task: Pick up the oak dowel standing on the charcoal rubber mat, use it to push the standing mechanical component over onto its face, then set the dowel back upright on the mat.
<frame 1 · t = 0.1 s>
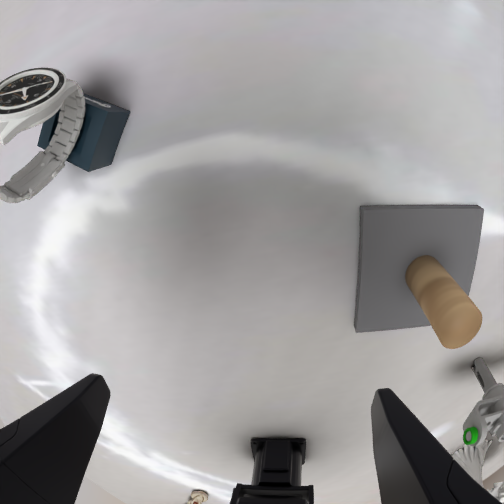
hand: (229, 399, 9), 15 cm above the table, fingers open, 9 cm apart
watch: (94, 125, 20), on the table
dowel: (422, 273, 21), point 1 cm above the table, touching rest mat
mechanical component: (476, 361, 25), on the table
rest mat: (418, 267, 22), on the table
tree: (467, 451, 33), on the table
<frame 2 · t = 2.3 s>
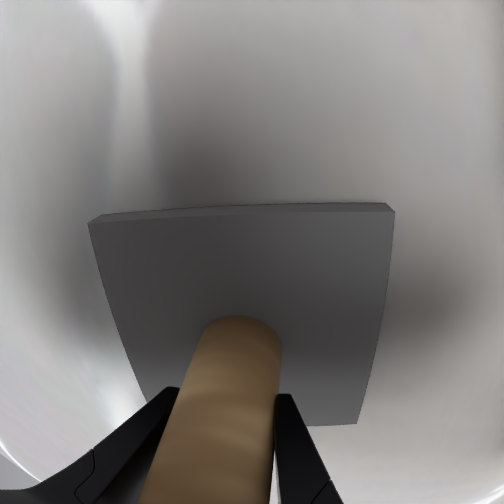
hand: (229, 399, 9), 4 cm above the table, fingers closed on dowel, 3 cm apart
dowel: (240, 348, 11), point 1 cm above the table, touching gripper, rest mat
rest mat: (244, 331, 12), on the table
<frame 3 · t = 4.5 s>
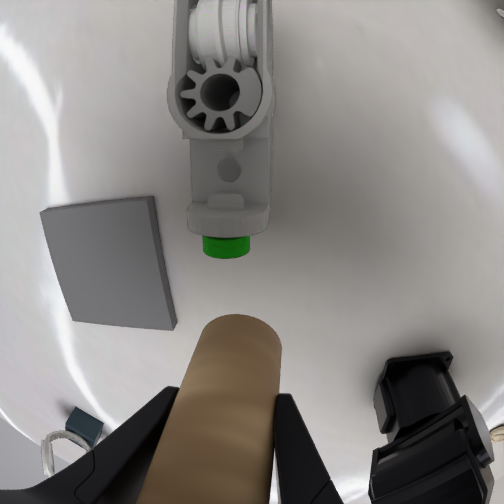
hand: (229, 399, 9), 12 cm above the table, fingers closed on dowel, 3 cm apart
watch: (88, 421, 33), on the table
dowel: (240, 347, 11), point 10 cm above the table, touching gripper
mechanical component: (254, 107, 17), on the table
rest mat: (107, 265, 22), on the table
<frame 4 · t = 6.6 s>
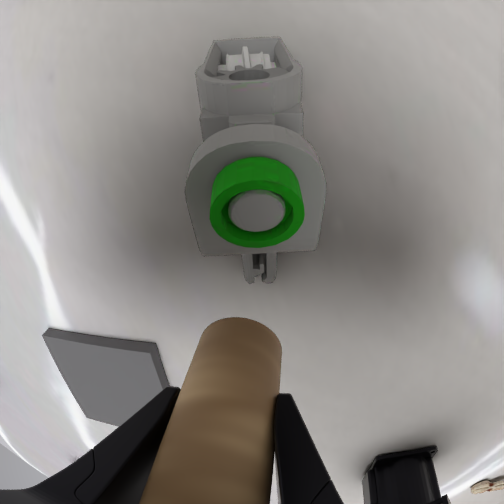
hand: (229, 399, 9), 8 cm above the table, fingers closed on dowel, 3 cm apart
dowel: (240, 350, 11), point 6 cm above the table, touching gripper
mechanical component: (260, 275, 16), point 1 cm above the table
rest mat: (115, 384, 22), on the table
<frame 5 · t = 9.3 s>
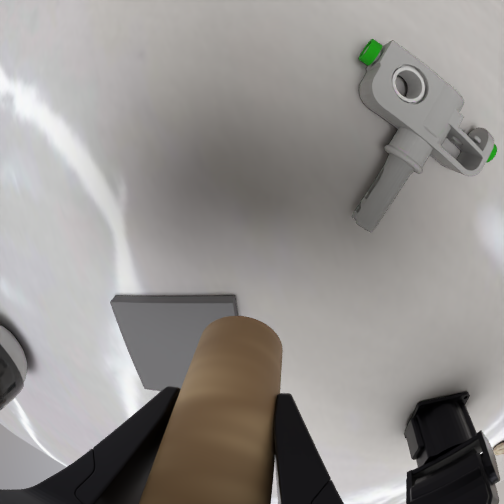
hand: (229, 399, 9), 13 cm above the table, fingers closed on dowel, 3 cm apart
dowel: (240, 349, 11), point 10 cm above the table, touching gripper
mechanical component: (359, 227, 18), point 1 cm above the table
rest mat: (183, 346, 25), on the table
pump dispenser: (11, 342, 30), on the table
when the fingers open (4 cm above the table, at t = 11.8 s): dowel drops 1 cm, resting on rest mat.
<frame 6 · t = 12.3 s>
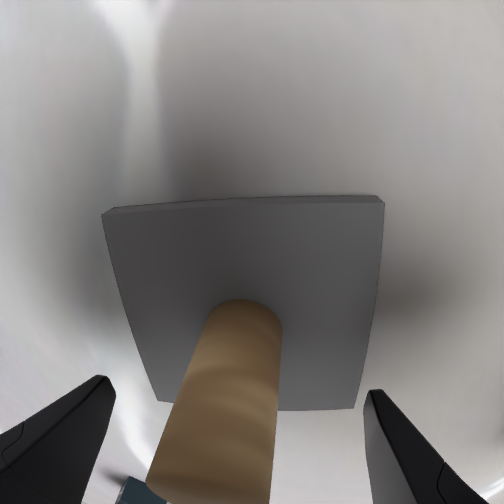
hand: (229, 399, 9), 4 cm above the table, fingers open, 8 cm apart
watch: (143, 488, 24), on the table
dowel: (243, 331, 12), point 1 cm above the table, touching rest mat
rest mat: (246, 317, 13), on the table
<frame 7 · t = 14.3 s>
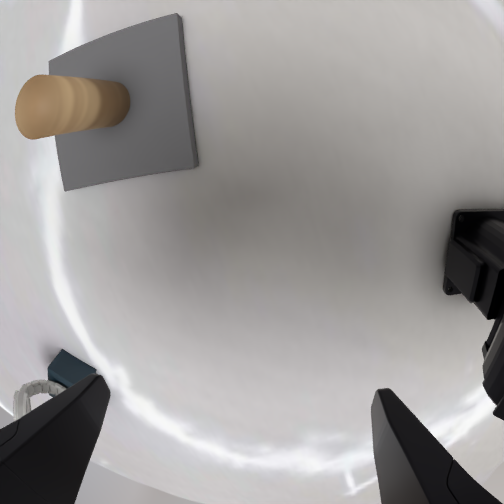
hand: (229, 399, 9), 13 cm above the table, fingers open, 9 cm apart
watch: (77, 372, 28), on the table
dowel: (109, 104, 16), point 1 cm above the table, touching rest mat
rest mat: (117, 104, 17), on the table
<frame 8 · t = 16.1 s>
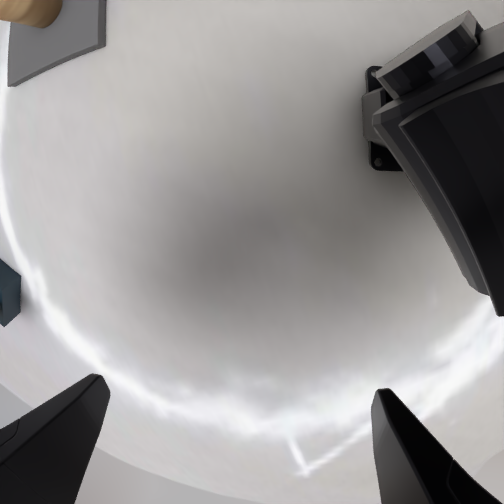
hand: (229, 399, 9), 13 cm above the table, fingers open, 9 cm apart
watch: (8, 283, 26), on the table
dowel: (48, 11, 14), point 1 cm above the table, touching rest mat
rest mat: (55, 14, 15), on the table
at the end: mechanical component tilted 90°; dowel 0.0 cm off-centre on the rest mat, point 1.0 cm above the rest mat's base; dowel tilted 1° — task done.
